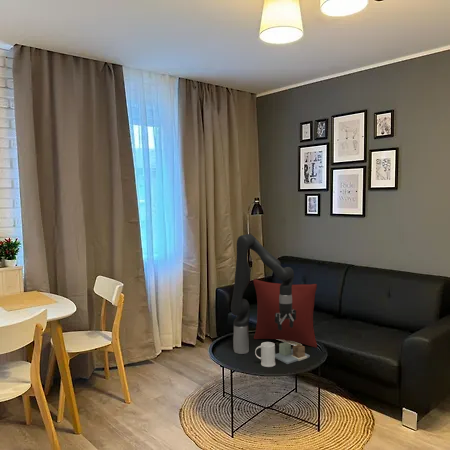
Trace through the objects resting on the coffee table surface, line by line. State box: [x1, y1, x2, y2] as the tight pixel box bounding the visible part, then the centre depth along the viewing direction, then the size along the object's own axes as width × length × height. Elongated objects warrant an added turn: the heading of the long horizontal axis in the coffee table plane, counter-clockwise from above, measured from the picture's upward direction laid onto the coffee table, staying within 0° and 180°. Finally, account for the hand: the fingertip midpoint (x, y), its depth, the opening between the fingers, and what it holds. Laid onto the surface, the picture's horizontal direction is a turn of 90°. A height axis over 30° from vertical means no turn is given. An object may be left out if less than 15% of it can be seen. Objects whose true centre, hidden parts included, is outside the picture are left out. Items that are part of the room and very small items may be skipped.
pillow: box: [253, 278, 318, 349], centre depth 288 cm, size 44×15×42 cm, turn 65°
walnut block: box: [292, 343, 306, 358], centre depth 264 cm, size 5×5×6 cm
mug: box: [254, 341, 276, 368], centre depth 256 cm, size 12×8×12 cm
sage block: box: [278, 341, 292, 356], centre depth 268 cm, size 5×5×6 cm
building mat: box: [275, 348, 311, 365], centre depth 265 cm, size 14×18×1 cm
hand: (285, 328), depth 255 cm, fingers open, 8 cm apart
